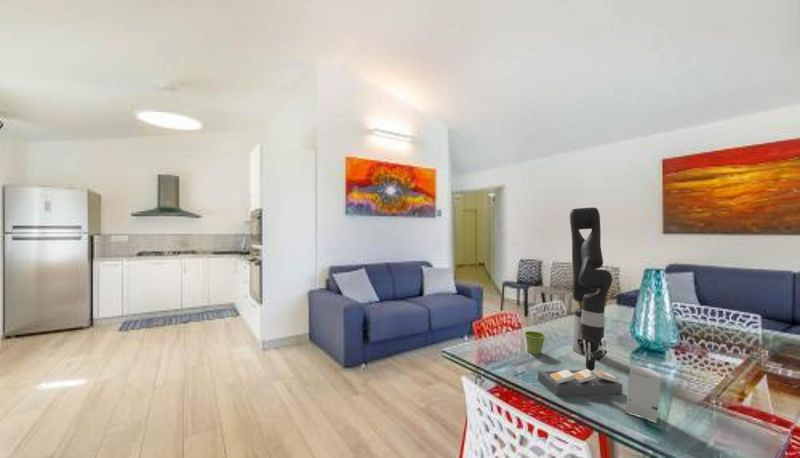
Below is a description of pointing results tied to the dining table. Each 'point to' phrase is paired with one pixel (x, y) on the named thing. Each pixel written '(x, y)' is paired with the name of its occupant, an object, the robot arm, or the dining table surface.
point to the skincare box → (643, 392)
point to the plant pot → (534, 341)
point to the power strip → (579, 385)
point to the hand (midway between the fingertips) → (589, 369)
